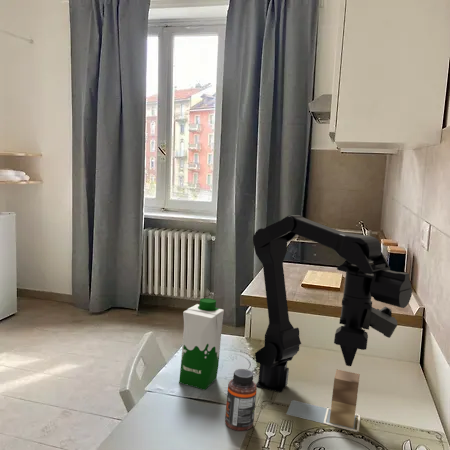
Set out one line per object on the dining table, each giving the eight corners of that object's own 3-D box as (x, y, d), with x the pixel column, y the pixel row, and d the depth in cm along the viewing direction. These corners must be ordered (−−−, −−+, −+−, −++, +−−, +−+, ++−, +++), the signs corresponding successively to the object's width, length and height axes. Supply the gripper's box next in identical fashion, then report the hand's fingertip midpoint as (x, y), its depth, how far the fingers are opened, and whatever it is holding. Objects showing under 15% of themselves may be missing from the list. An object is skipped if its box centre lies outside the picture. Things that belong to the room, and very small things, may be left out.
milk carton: (221, 378, 116) (228, 301, 113) (206, 393, 107) (213, 310, 105) (190, 369, 119) (196, 295, 116) (173, 383, 110) (179, 303, 108)
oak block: (329, 422, 98) (331, 400, 98) (331, 411, 103) (334, 390, 103) (353, 428, 97) (356, 406, 96) (354, 417, 102) (357, 395, 101)
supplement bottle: (223, 416, 98) (227, 365, 96) (250, 417, 98) (255, 366, 97) (225, 432, 92) (230, 378, 91) (255, 433, 92) (260, 379, 91)
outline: (323, 423, 98) (323, 422, 98) (327, 408, 105) (327, 407, 105) (358, 432, 95) (358, 431, 95) (360, 415, 102) (360, 415, 102)
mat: (286, 414, 100) (286, 413, 100) (292, 400, 107) (292, 399, 107) (354, 431, 96) (354, 431, 96) (355, 416, 102) (356, 415, 102)
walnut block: (331, 400, 98) (334, 378, 97) (334, 390, 103) (336, 369, 102) (355, 406, 96) (358, 383, 96) (357, 395, 101) (359, 374, 100)
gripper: (399, 313, 85) (388, 392, 87) (396, 291, 103) (387, 357, 105) (338, 303, 89) (329, 379, 91) (345, 283, 107) (338, 348, 108)
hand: (348, 365), depth 99 cm, fingers closed
